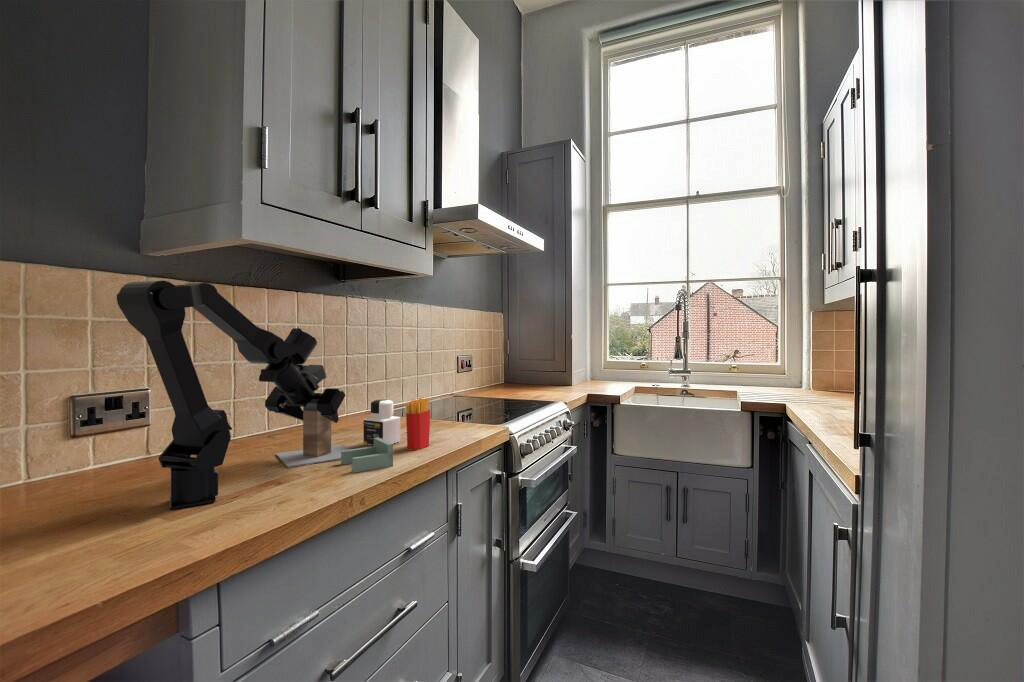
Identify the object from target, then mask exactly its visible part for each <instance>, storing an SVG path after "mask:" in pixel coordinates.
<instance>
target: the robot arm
mask: <svg viewBox="0 0 1024 682" xmlns="http://www.w3.org/2000/svg"><path fill="white" fill-rule="evenodd" d="M116 300H117V301H116V302H117V305H118V308H119V309H120V310H121V312H122V314H123V315H124V317H125V319H126V320H127V322H128V323H129V324H130V325H131V326H132V327H133V328H134V329H135V330H136V331H137V332H139V334H141V335H142V336H143V338H145V340H146V342H147V344H148V346H149V350H150V352H151V354H152V358H153V360H154V362H155V366H156V367H157V371H158V373H159V376H160V378H161V381H162V383H163V386H164V388H165V389H164V390H165V391H166V394H167V396H168V399H169V401H170V403H171V406H172V409H173V411H174V419H173V422H172V425H171V433H172V434H171V435H172V441H170V443H169V444H168V445H167V446H166V447H165V449H164V450H163V452H162V453H160V455H159V457H158V461H159V464H160V465H161V468H164V469H166V468H167V469H170V497H169V509H170V510H177V509H182V508H187V507H193V506H198V505H204V504H210V503H215V502H216V501H217V499H216V497H217V496H218V495H219V471H218V470H217V469H215V468H217V467H220V466H223V463H224V460H225V457H226V454H227V450H228V448H229V444H230V442H231V439H232V436H231V431H232V430H233V427H232V426H230V423H229V421H228V414H227V413H226V411H225V410H224V409H213V408H212V407H210V405H209V404H208V401H207V399H206V395H205V393H204V389H203V388H202V384H201V382H200V379H199V377H198V373H197V370H196V368H195V365H194V363H193V359H192V357H191V353H190V351H189V348H188V345H187V343H186V340H185V338H184V334H183V331H182V330H183V327H184V322H185V320H186V319H185V317H186V308H193V309H194V310H195V311H197V312H198V313H199V314H200V315H202V316H203V317H204V318H206V319H207V320H208V321H209V322H210V323H212V324H213V325H214V326H215V327H217V328H218V329H219V330H221V331H222V332H223V333H224V334H225V335H227V336H228V338H230V339H232V340H233V341H234V342H235V344H236V346H237V350H238V352H239V353H240V354H241V355H242V356H243V357H244V358H245V360H246V361H247V362H248V363H250V364H260V365H261V364H263V365H264V364H267V365H266V366H265V367H264V368H261V369H260V374H259V376H258V381H259V382H261V383H262V382H264V383H265V382H266V383H273V384H274V385H275V386H274V387H273V389H272V391H271V392H270V393H269V395H267V398H266V399H265V400H264V407H265V408H266V409H267V411H268V412H274V413H276V414H280V415H284V416H288V417H289V418H290V417H291V418H293V419H296V420H300V421H302V422H303V407H305V406H306V405H307V403H317V410H318V411H319V412H320V413H321V414H320V415H322V416H324V417H325V418H327V419H329V420H331V422H333V423H335V424H337V423H338V422H339V421H340V420H339V412H338V410H339V409H340V406H341V405H342V403H343V401H344V400H345V397H346V393H345V392H344V390H343V389H342V388H339V387H337V388H336V387H335V388H334V387H327V388H325V389H324V391H323V392H315V391H318V389H319V388H320V386H319V383H321V382H322V381H323V380H325V379H326V378H327V374H326V371H325V368H324V365H323V364H309V365H304V364H305V363H306V361H308V358H309V357H310V356H311V354H312V353H313V351H314V350H315V348H316V347H317V345H318V341H317V339H316V337H314V336H313V335H311V334H309V333H308V332H306V331H303V330H302V328H300V327H299V328H298V327H293V328H291V330H290V331H289V334H288V335H287V337H286V338H285V339H283V338H281V337H280V336H279V335H277V334H275V333H274V332H271V331H269V330H267V329H264V328H261V327H259V326H257V325H256V324H255V323H254V322H252V321H251V320H250V318H248V317H246V316H245V314H243V313H242V311H240V310H238V308H237V307H235V306H234V305H233V304H232V302H230V301H229V300H227V299H226V298H225V297H224V296H223V295H222V294H221V293H219V292H218V290H217V288H216V286H215V285H213V284H211V283H209V282H187V283H185V284H174V283H172V282H170V281H167V280H148V281H146V280H144V281H130V282H128V283H126V284H124V285H123V286H122V287H121V288H120V289H119V292H118V293H117V294H116ZM192 456H193V457H192ZM194 456H196V457H194Z"/></svg>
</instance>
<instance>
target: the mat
mask: <svg viewBox="0 0 1024 682" xmlns="http://www.w3.org/2000/svg"><path fill="white" fill-rule="evenodd" d="M344 450H351V449H350V448H348V447H347V446H344V445H343V444H338V445H337V444H336V445H331V453H330V454H327V455H323V456H320V457H310V456H303V449H300V450H291V451H285V452H284V451H283V452H276V453H275V456H276V455H277V456H278V457H279V458H278V457H277V456H276V457H277V458H278V459H279V460H280V461H281V462H282V463H283V464H284V466H286V468H287V469H289V467H291V468H297V467H302V466H301V465H304V466H308V465H307V464H310V465H315V464H314V463H317V464H322V463H321V462H323V463H328V462H327V461H330V462H335V460H337V461H341V451H344ZM296 466H297V467H296Z"/></svg>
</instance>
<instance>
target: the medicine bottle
mask: <svg viewBox="0 0 1024 682" xmlns="http://www.w3.org/2000/svg"><path fill="white" fill-rule="evenodd" d="M378 437H379V438H381V439H383V440H385V441H387V442H390V443H392V444H393V445H395V444H398V443H397V442H399V443H400V442H401V417H400V416H394V401H392V400H391V399H375V400H373V401H371V402H370V416H369V417H365V418H363V445H365V444H368V445H367V446H371V445H374V438H378ZM394 443H395V444H394Z"/></svg>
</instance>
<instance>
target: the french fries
mask: <svg viewBox="0 0 1024 682" xmlns="http://www.w3.org/2000/svg"><path fill="white" fill-rule="evenodd" d="M429 401H430V399H429V398H423V397H420V398H418V399H412V400H411V401H410V403H409V402H407V403H405V409H406V412H405V418H406V421H405V422H406V445H407V447H406V448H407V450H408V449H412V450H411V451H417V450H416V449H420V450H423V449H425V448H427V447H426V446H428V445H429V446H430V426H431V409H429V404H430V403H429ZM429 446H428V447H429ZM424 447H425V448H424ZM422 448H423V449H422Z"/></svg>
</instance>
